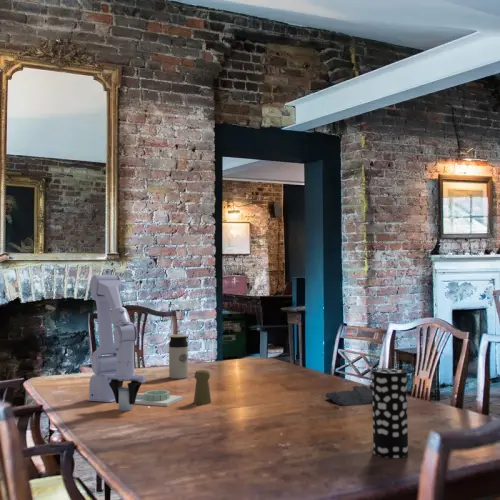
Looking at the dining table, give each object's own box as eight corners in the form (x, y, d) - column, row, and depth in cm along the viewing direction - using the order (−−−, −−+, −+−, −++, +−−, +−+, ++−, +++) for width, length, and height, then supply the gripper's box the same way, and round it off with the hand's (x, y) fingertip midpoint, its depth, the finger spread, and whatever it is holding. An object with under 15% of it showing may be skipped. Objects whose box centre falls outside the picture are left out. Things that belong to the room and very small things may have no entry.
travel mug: (166, 376, 259) (166, 334, 260) (184, 375, 263) (184, 333, 263) (172, 379, 252) (172, 336, 253) (190, 378, 256) (190, 335, 256)
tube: (115, 410, 197) (115, 388, 197) (123, 407, 202) (122, 386, 202) (127, 411, 196) (127, 389, 196) (135, 408, 200) (135, 386, 200)
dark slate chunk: (320, 399, 213) (320, 385, 213) (374, 394, 221) (374, 381, 221) (341, 408, 199) (340, 393, 199) (398, 402, 206) (398, 388, 206)
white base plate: (120, 402, 208) (120, 394, 209) (137, 395, 220) (137, 387, 220) (166, 406, 202) (166, 397, 203) (182, 399, 214) (182, 390, 214)
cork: (208, 404, 204) (208, 371, 205) (191, 404, 205) (191, 371, 206) (213, 400, 210) (213, 369, 211) (196, 400, 211) (196, 368, 212)
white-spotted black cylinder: (369, 448, 152) (367, 368, 153) (401, 447, 153) (400, 367, 153) (379, 458, 144) (377, 374, 144) (413, 457, 144) (411, 373, 145)
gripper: (99, 362, 198) (99, 404, 197) (138, 364, 193) (138, 407, 192) (111, 359, 204) (111, 400, 204) (149, 361, 200) (149, 402, 199)
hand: (125, 403), depth 199 cm, fingers closed on tube, 5 cm apart
